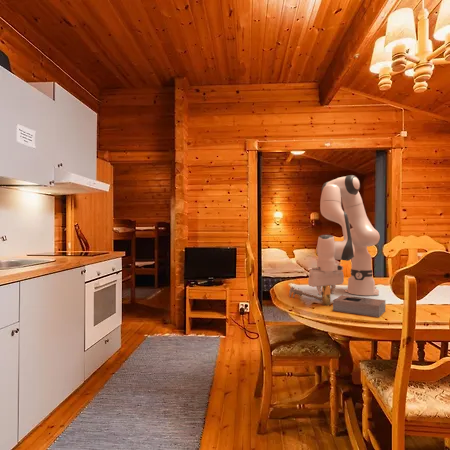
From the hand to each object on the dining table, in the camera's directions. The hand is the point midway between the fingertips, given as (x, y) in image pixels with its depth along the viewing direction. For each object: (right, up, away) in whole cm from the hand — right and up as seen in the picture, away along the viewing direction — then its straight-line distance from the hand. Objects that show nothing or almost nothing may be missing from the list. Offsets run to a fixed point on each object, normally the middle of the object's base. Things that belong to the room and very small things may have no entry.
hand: (326, 294), depth 173 cm
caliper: (-6, -6, +14) cm, 16 cm away
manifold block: (+12, -5, -13) cm, 18 cm away
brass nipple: (0, -5, 0) cm, 5 cm away
